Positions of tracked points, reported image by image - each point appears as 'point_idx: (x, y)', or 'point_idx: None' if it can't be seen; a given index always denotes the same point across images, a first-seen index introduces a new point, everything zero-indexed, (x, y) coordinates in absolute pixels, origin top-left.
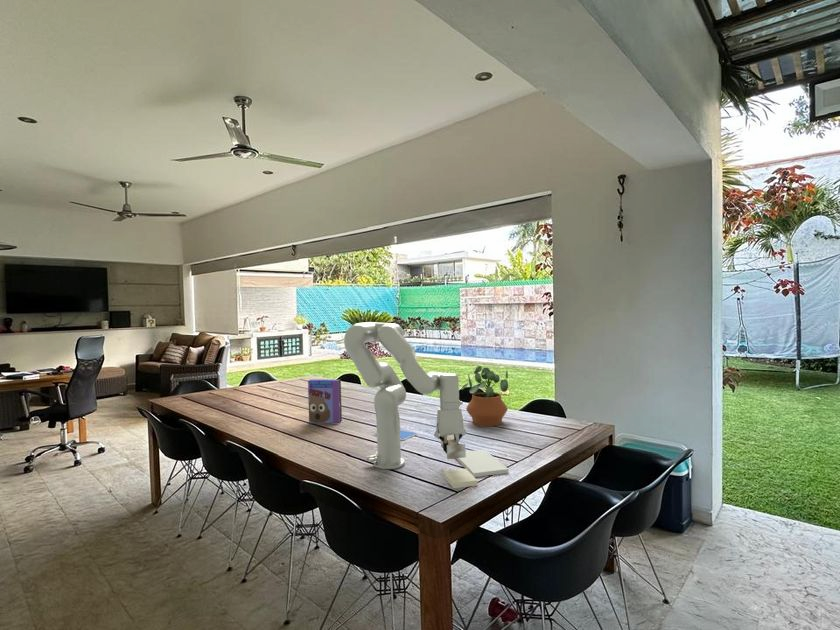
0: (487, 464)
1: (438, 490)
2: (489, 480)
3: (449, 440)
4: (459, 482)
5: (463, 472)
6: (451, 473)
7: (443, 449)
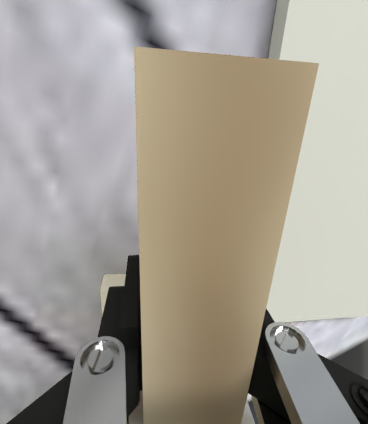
0: (342, 254)
1: (50, 387)
2: None
3: (171, 413)
4: None
5: None
6: None
7: (109, 293)
